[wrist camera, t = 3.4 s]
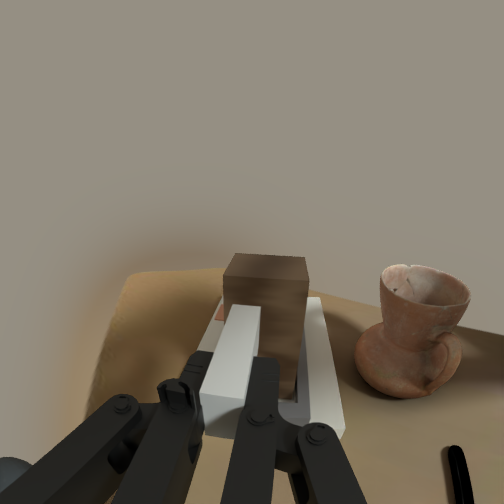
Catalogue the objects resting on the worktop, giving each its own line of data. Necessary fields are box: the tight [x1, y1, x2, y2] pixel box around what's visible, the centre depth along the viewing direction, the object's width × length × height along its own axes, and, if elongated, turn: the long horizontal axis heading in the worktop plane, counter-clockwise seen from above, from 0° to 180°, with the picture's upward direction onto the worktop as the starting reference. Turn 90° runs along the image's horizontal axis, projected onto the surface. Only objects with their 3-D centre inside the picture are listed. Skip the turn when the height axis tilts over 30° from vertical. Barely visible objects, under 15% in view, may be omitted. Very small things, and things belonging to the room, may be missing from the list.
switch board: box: [197, 296, 345, 439], centre depth 37 cm, size 18×30×4 cm, turn 173°
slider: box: [223, 253, 309, 399], centre depth 27 cm, size 7×6×14 cm
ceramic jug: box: [354, 264, 471, 399], centre depth 28 cm, size 18×14×14 cm
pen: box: [448, 445, 474, 504], centre depth 10 cm, size 2×14×2 cm, turn 166°
